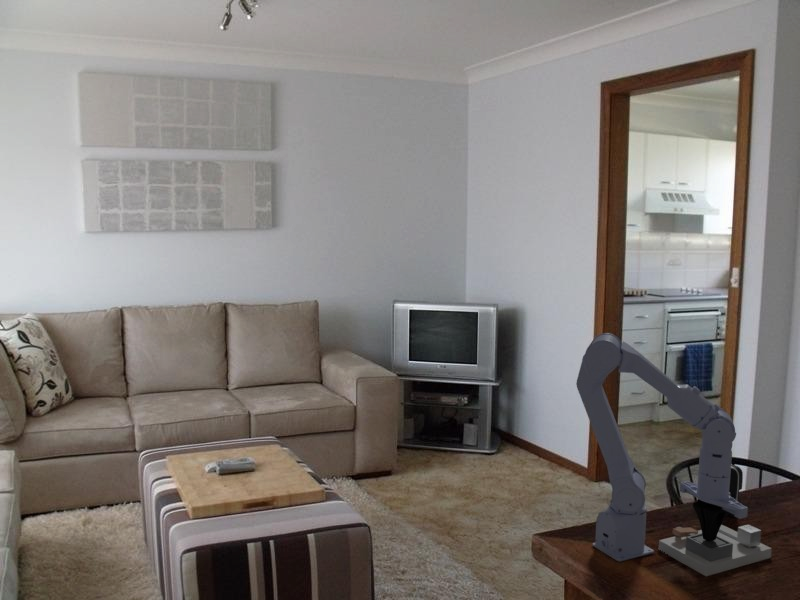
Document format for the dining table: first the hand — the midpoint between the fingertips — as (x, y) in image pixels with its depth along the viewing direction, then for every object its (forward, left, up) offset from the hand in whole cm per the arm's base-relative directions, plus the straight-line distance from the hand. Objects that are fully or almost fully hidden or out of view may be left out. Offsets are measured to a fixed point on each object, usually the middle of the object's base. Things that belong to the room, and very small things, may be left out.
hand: (709, 539), depth 145 cm
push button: (0, 0, -2) cm, 2 cm away
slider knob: (+10, -1, -2) cm, 10 cm away
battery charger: (+23, +16, -5) cm, 28 cm away
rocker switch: (0, +6, -1) cm, 6 cm away
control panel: (+4, +2, -5) cm, 6 cm away
